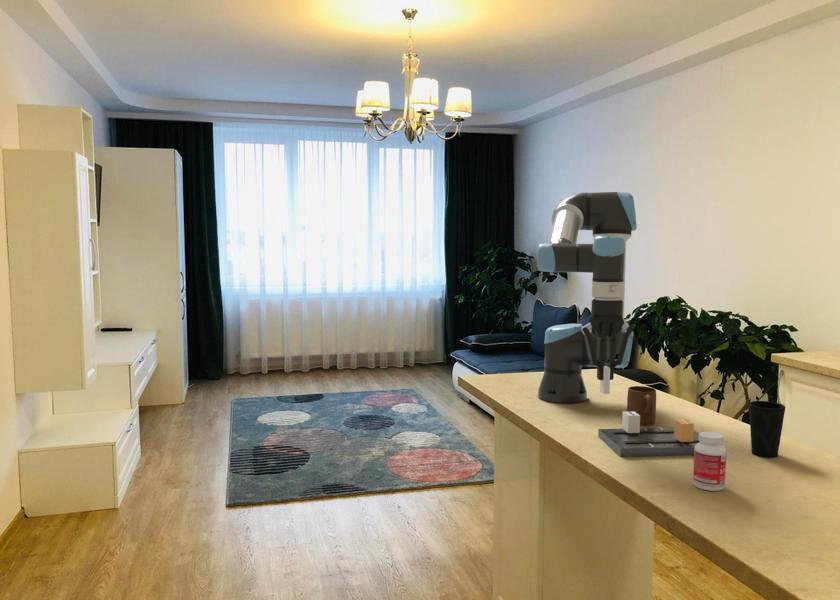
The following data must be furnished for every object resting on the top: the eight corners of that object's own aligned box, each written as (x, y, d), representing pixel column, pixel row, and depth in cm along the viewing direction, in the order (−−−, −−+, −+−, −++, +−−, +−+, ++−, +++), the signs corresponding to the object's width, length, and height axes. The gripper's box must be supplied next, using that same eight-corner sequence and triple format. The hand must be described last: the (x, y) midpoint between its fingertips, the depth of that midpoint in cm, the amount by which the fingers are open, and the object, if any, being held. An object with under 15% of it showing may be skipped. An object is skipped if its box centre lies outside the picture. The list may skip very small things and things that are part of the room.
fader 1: (622, 428, 176) (622, 411, 176) (633, 428, 176) (634, 410, 176) (627, 433, 172) (628, 415, 172) (639, 432, 172) (640, 415, 172)
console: (598, 436, 178) (598, 427, 178) (688, 434, 180) (688, 426, 179) (620, 456, 162) (620, 447, 162) (719, 454, 164) (719, 445, 163)
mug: (664, 430, 183) (666, 396, 182) (636, 430, 183) (637, 396, 182) (650, 418, 195) (651, 385, 194) (623, 418, 195) (624, 385, 194)
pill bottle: (725, 493, 140) (727, 440, 138) (692, 489, 142) (695, 437, 141) (724, 483, 145) (726, 432, 144) (692, 479, 148) (694, 429, 146)
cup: (739, 451, 166) (741, 402, 165) (762, 447, 169) (764, 399, 168) (766, 461, 159) (769, 410, 158) (790, 456, 162) (793, 407, 161)
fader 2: (673, 437, 169) (674, 419, 168) (685, 436, 169) (686, 418, 168) (681, 442, 165) (681, 423, 164) (693, 441, 165) (693, 423, 165)
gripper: (586, 300, 166) (583, 396, 168) (638, 300, 167) (635, 395, 169) (576, 297, 173) (574, 389, 176) (627, 297, 174) (624, 389, 176)
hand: (604, 392), depth 172 cm, fingers closed
